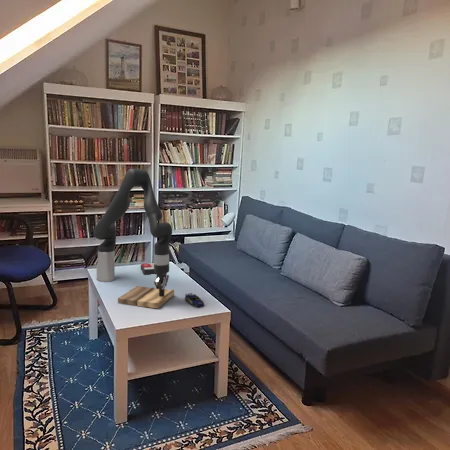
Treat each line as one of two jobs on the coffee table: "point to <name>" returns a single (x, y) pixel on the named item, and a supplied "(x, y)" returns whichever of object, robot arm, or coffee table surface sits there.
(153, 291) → the plank
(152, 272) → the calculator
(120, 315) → the coffee table surface
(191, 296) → the race car
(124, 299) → the floor board
